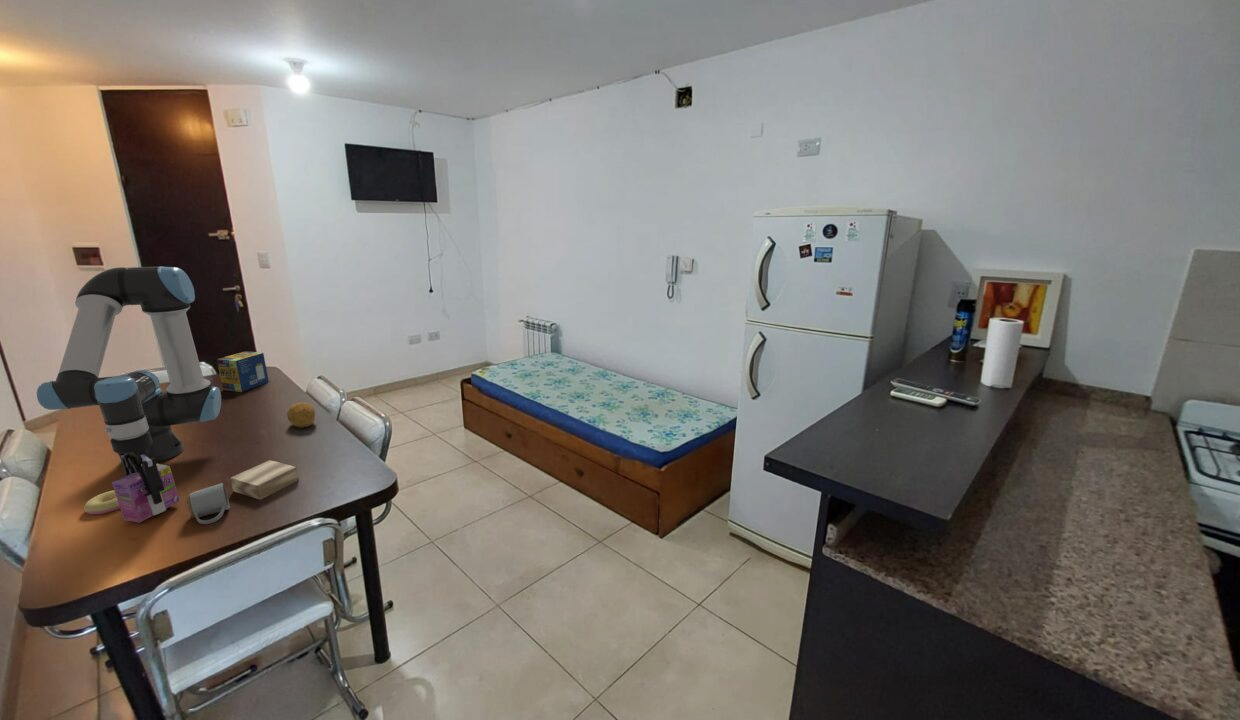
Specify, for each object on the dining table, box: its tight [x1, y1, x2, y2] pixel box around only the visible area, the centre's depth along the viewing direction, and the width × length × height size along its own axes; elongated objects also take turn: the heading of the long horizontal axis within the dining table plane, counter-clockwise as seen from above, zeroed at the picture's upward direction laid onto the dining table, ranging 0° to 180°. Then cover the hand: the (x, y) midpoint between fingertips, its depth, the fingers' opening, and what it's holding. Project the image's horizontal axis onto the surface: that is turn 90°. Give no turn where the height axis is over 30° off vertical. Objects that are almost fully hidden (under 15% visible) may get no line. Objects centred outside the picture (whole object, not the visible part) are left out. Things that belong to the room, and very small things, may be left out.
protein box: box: [216, 350, 270, 393], centre depth 232 cm, size 10×15×16 cm
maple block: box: [230, 459, 300, 500], centre depth 149 cm, size 12×12×5 cm
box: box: [111, 463, 180, 523], centre depth 132 cm, size 10×6×12 cm, turn 168°
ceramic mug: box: [186, 482, 230, 525], centre depth 133 cm, size 11×8×8 cm
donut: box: [83, 489, 120, 515], centre depth 137 cm, size 10×5×9 cm
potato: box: [286, 402, 316, 428], centre depth 191 cm, size 10×13×9 cm
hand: (152, 509), depth 134 cm, fingers closed on box, 6 cm apart
